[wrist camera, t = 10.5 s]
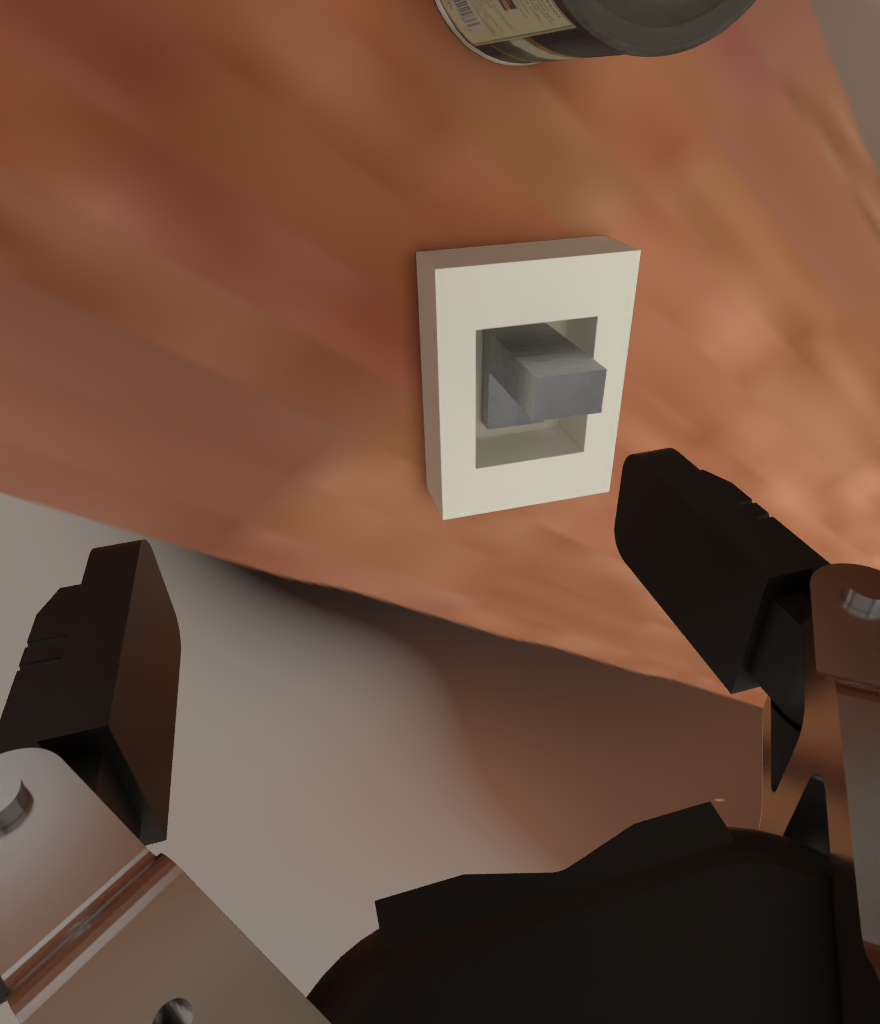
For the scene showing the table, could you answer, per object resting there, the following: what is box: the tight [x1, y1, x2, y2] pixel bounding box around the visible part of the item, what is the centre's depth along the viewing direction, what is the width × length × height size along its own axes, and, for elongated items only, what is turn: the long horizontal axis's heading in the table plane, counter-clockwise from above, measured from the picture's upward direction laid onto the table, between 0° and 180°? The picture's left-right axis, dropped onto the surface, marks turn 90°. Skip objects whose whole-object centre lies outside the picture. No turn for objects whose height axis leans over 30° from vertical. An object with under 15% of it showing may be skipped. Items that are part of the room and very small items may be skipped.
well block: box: [416, 235, 641, 520], centre depth 42 cm, size 16×12×4 cm
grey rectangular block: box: [481, 322, 607, 430], centre depth 40 cm, size 6×4×9 cm, turn 1°
